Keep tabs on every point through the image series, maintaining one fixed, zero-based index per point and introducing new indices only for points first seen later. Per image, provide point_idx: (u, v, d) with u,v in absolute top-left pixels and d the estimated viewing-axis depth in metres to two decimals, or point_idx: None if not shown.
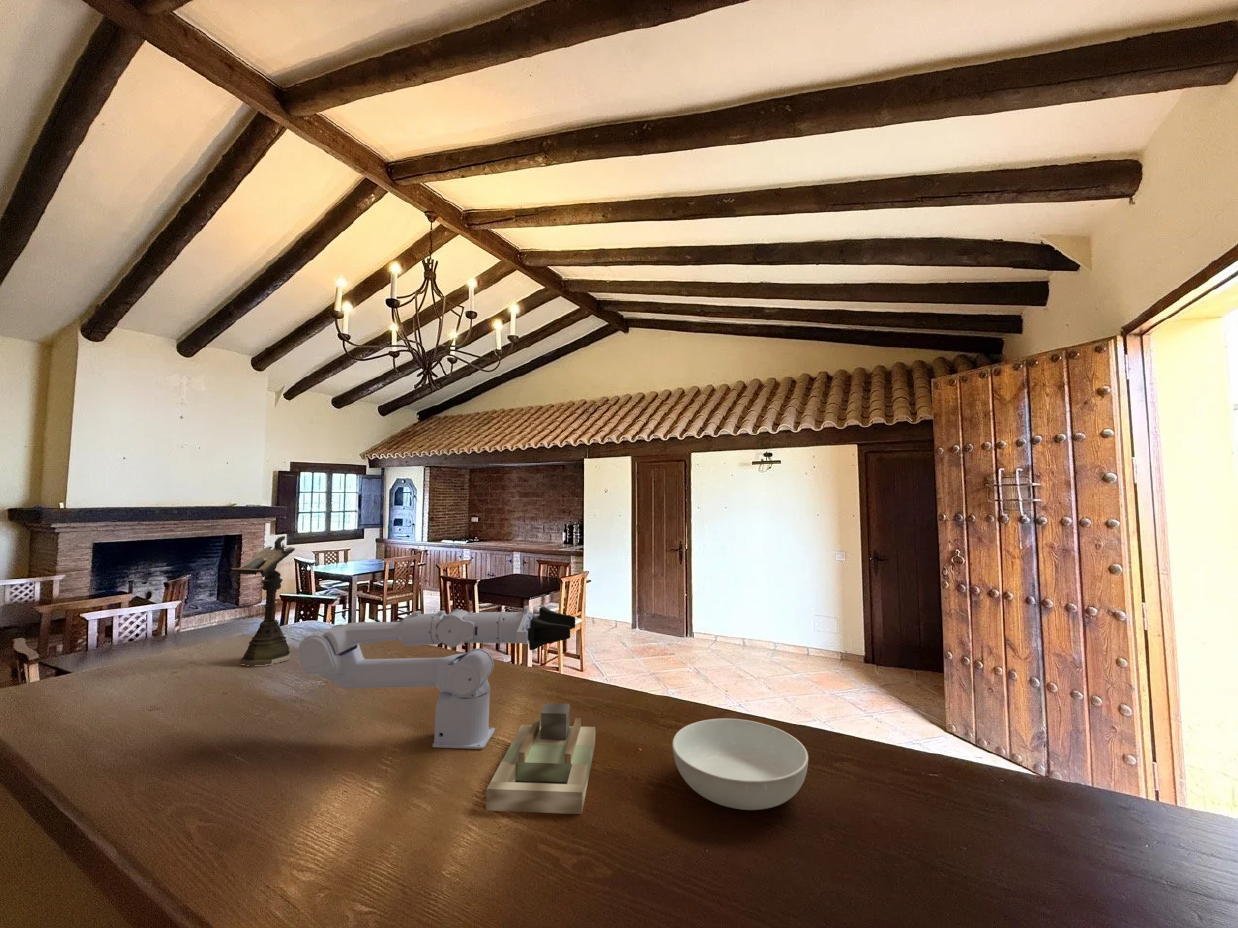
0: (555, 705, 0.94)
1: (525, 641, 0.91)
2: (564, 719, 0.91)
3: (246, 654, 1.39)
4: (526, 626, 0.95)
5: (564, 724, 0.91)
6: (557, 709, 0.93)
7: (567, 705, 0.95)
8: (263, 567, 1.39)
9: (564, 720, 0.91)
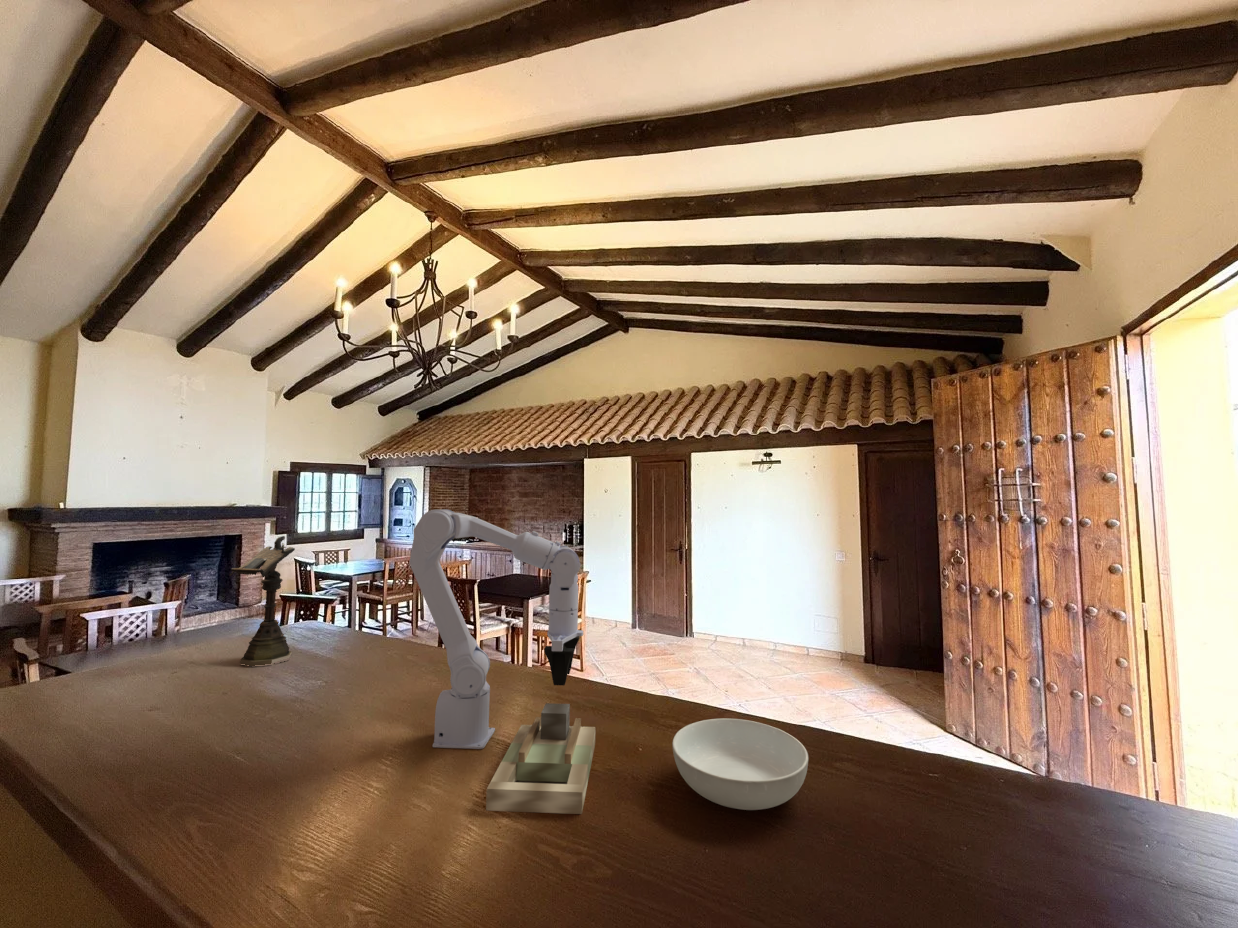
0: (555, 705, 0.94)
1: (552, 649, 0.94)
2: (564, 719, 0.91)
3: (246, 654, 1.39)
4: None
5: (564, 724, 0.91)
6: (557, 709, 0.93)
7: (567, 705, 0.95)
8: (263, 567, 1.39)
9: (564, 720, 0.91)
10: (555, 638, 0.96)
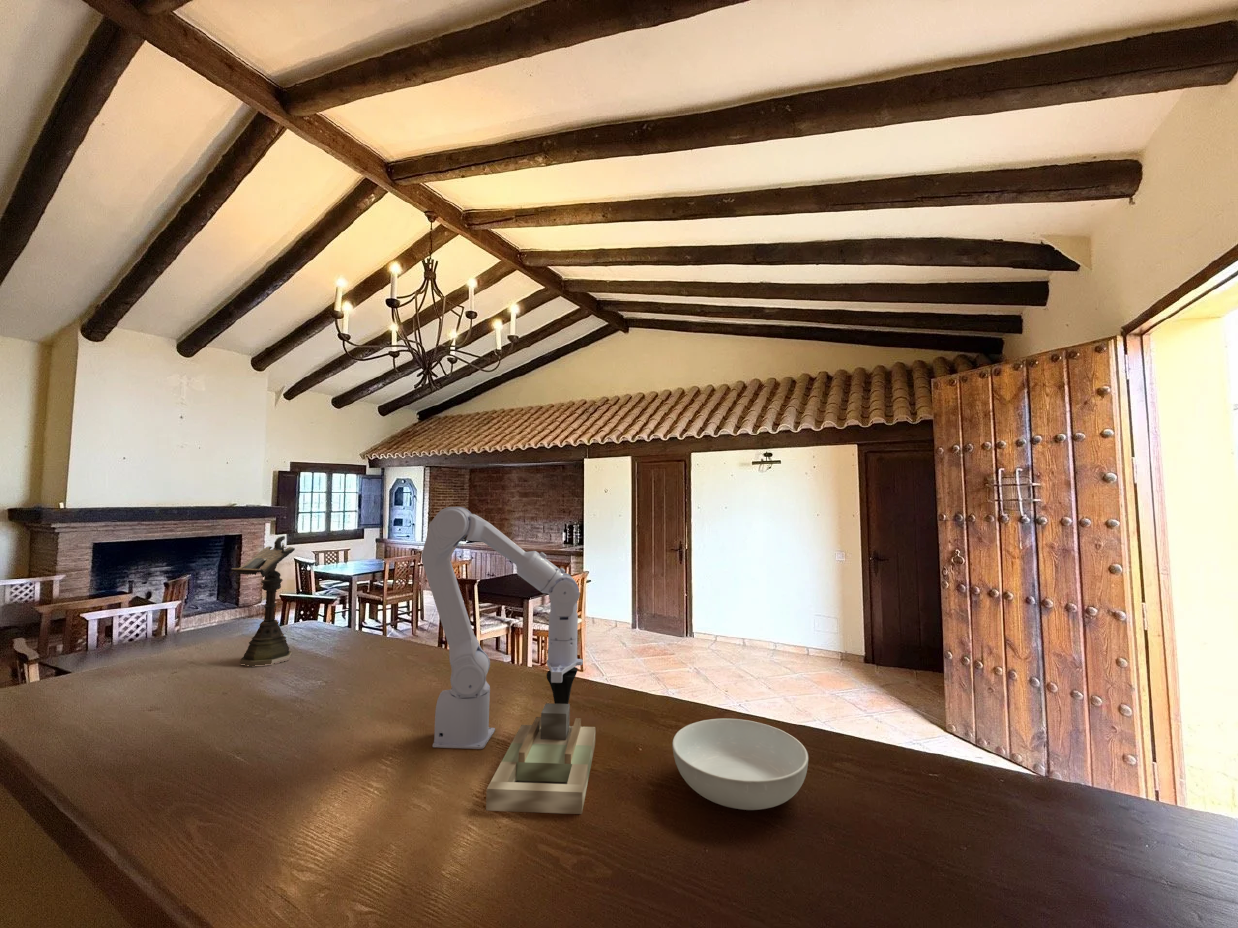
0: (555, 705, 0.94)
1: (552, 681, 0.93)
2: (564, 719, 0.91)
3: (246, 654, 1.39)
4: None
5: (564, 724, 0.91)
6: (557, 709, 0.93)
7: (567, 705, 0.95)
8: (263, 567, 1.39)
9: (564, 720, 0.91)
10: (554, 668, 0.96)
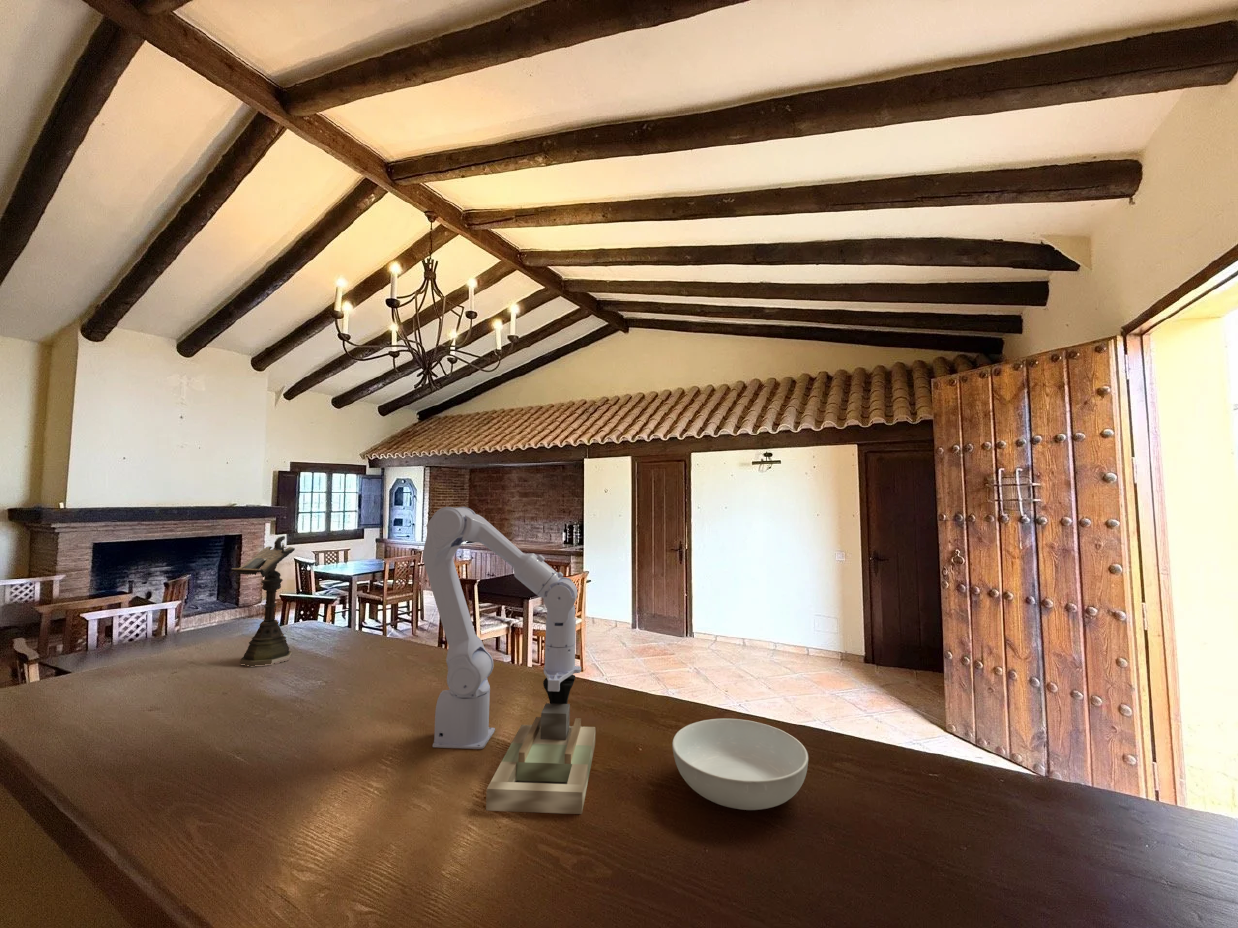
0: (555, 705, 0.94)
1: (549, 689, 0.90)
2: (564, 719, 0.91)
3: (246, 654, 1.39)
4: None
5: (564, 724, 0.91)
6: (557, 709, 0.93)
7: (567, 705, 0.95)
8: (263, 567, 1.39)
9: (564, 720, 0.91)
10: (551, 676, 0.93)
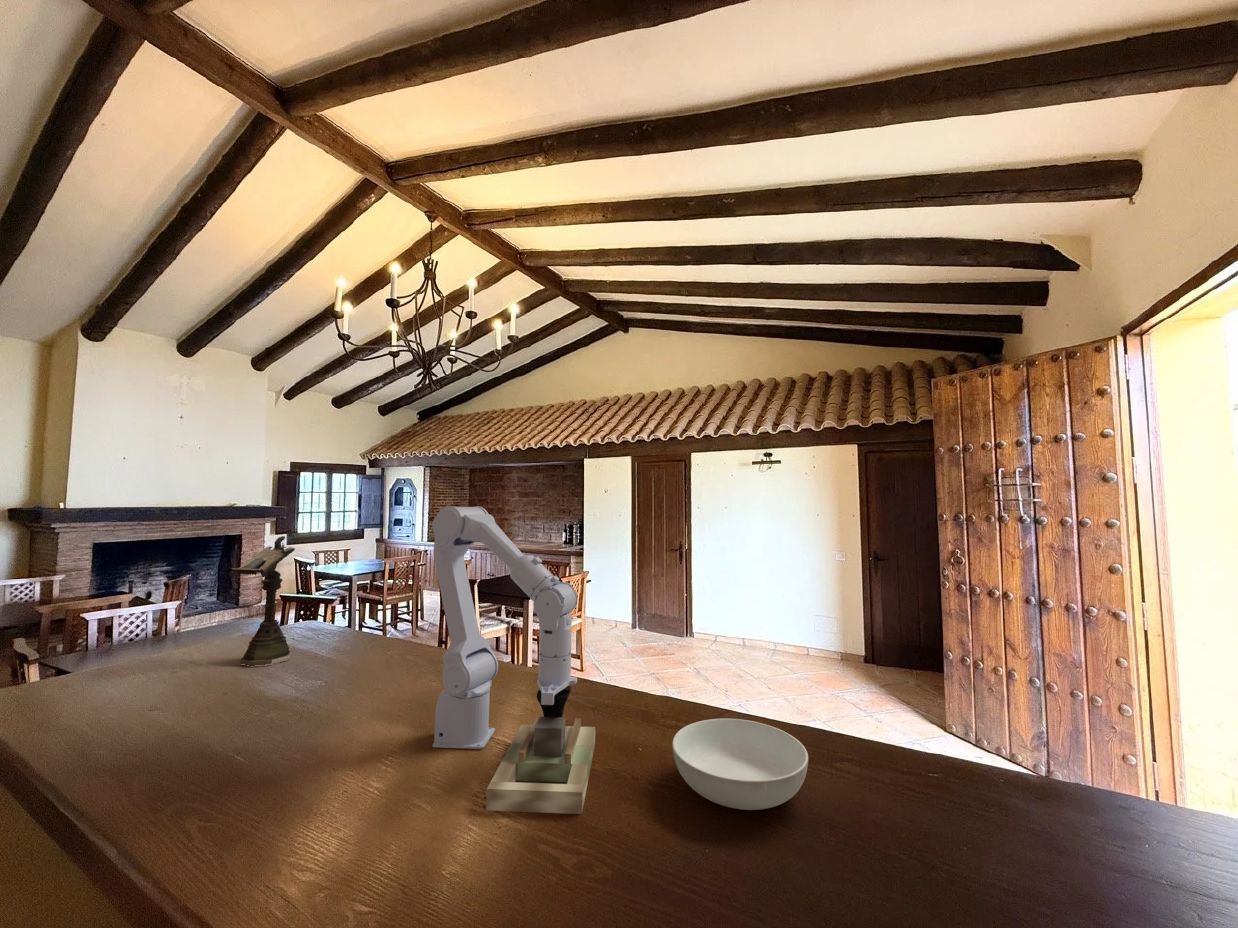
0: (550, 719, 0.88)
1: (542, 703, 0.84)
2: (559, 734, 0.85)
3: (246, 654, 1.39)
4: None
5: (559, 740, 0.85)
6: (552, 723, 0.87)
7: (562, 719, 0.88)
8: (263, 567, 1.39)
9: (559, 735, 0.85)
10: (545, 688, 0.86)
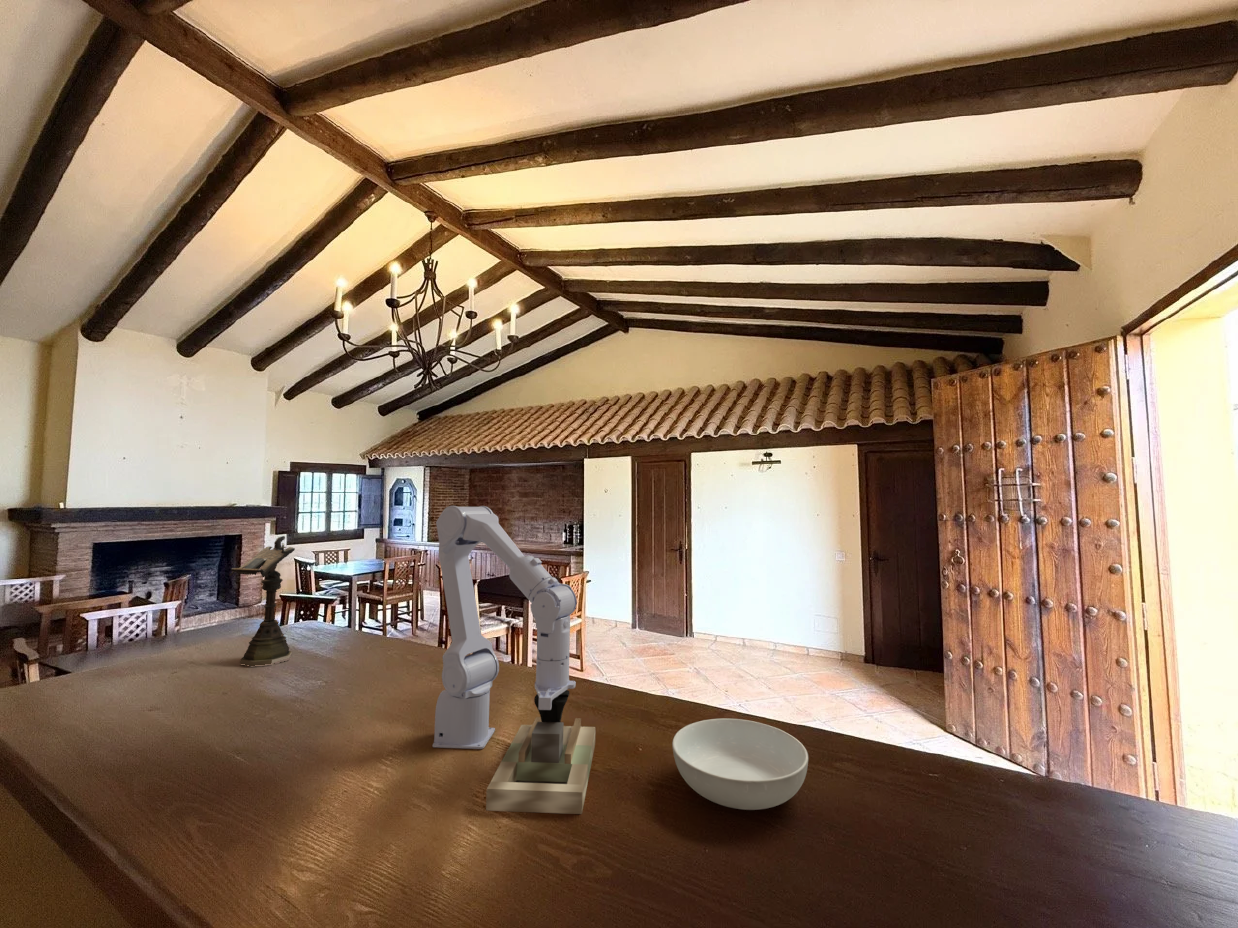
0: (547, 724, 0.86)
1: (539, 708, 0.82)
2: (557, 740, 0.83)
3: (246, 654, 1.39)
4: None
5: (557, 745, 0.82)
6: (550, 728, 0.85)
7: (561, 724, 0.86)
8: (263, 567, 1.39)
9: (557, 741, 0.83)
10: (543, 693, 0.84)
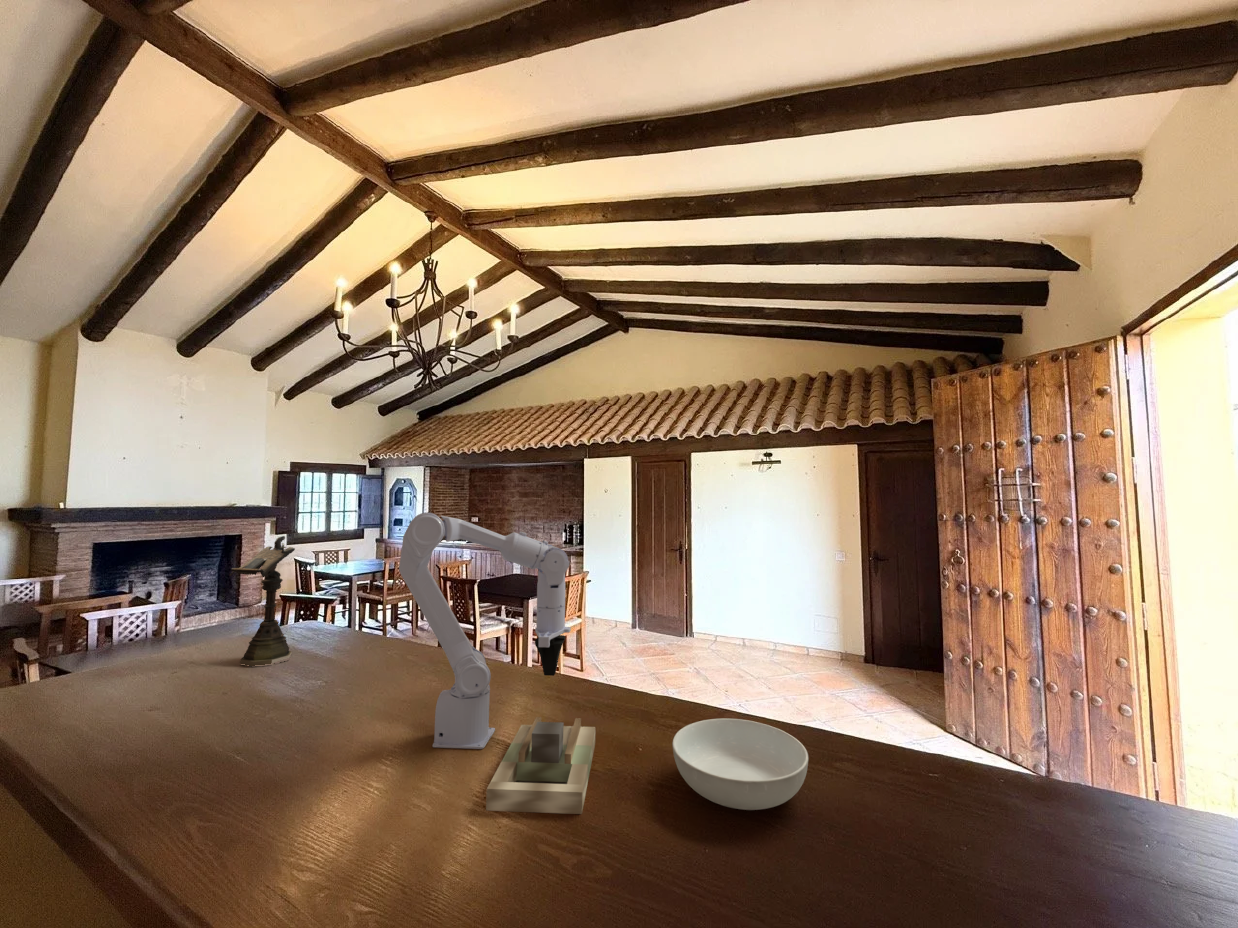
0: (547, 724, 0.86)
1: (539, 646, 0.96)
2: (557, 740, 0.83)
3: (246, 654, 1.39)
4: None
5: (557, 746, 0.82)
6: (550, 728, 0.85)
7: (560, 724, 0.86)
8: (263, 567, 1.39)
9: (557, 741, 0.83)
10: (542, 634, 0.99)
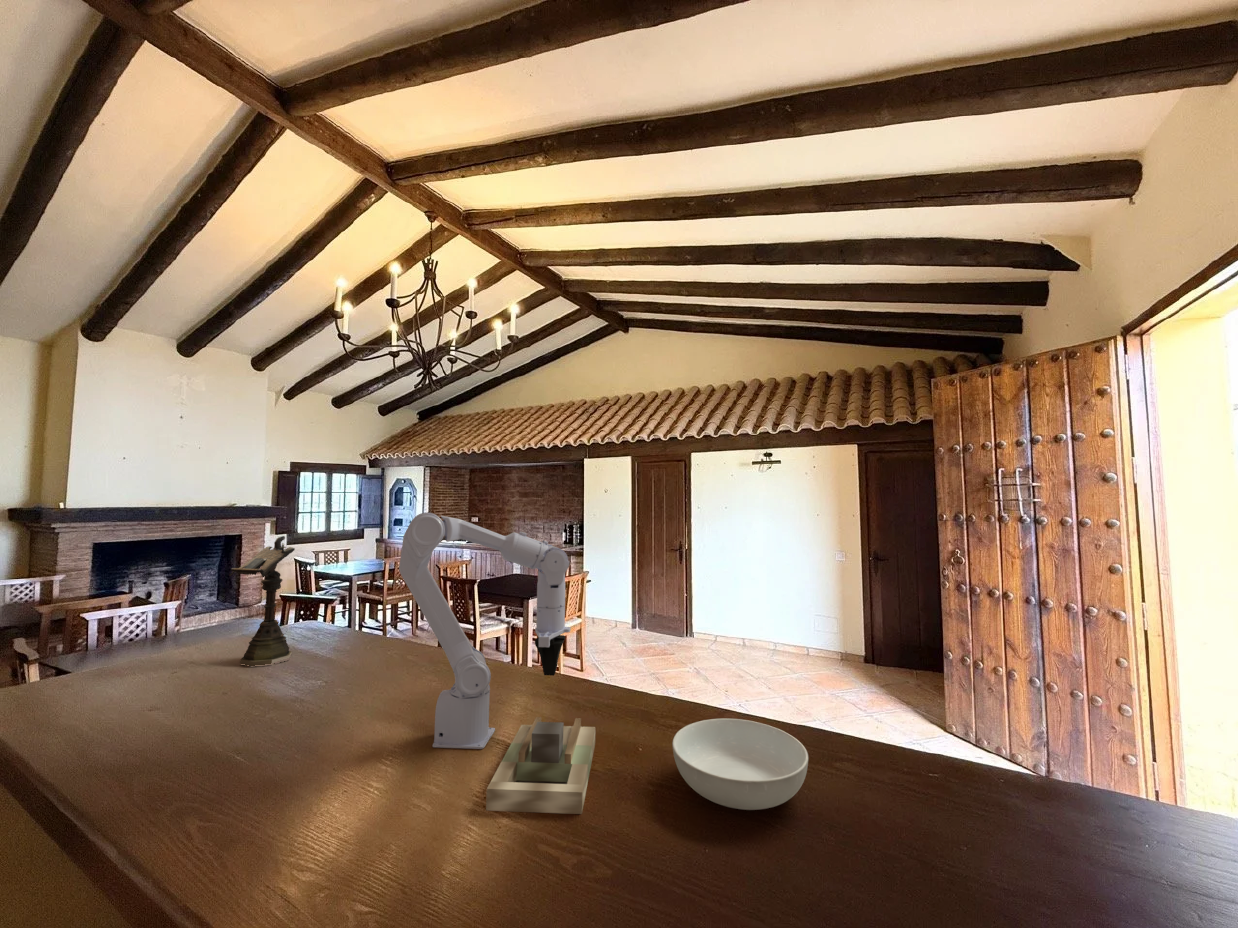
0: (547, 724, 0.86)
1: (539, 645, 0.96)
2: (557, 740, 0.83)
3: (246, 654, 1.39)
4: None
5: (557, 746, 0.82)
6: (550, 728, 0.85)
7: (560, 724, 0.86)
8: (263, 567, 1.39)
9: (557, 741, 0.83)
10: (542, 634, 0.99)
